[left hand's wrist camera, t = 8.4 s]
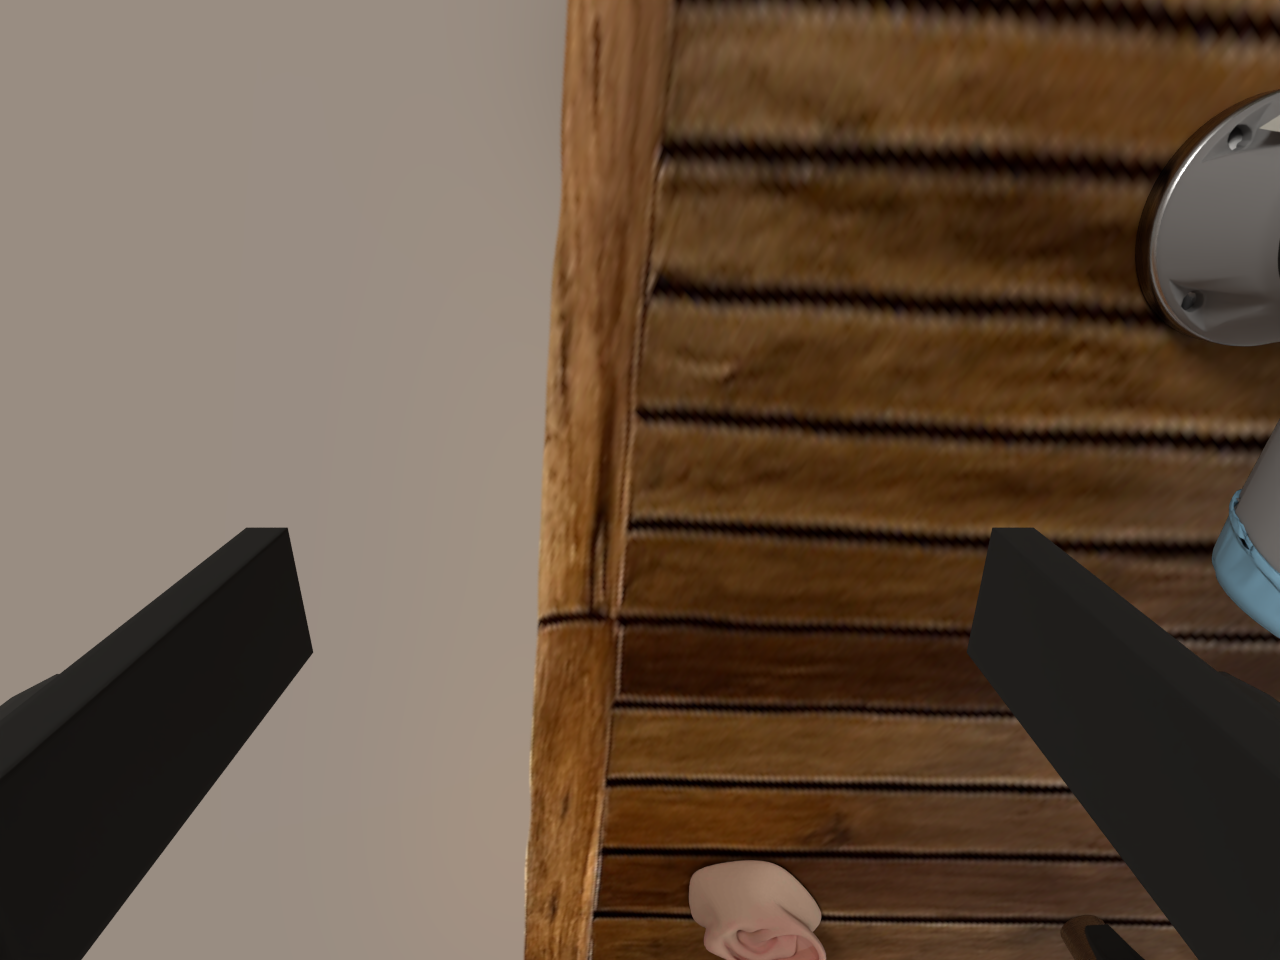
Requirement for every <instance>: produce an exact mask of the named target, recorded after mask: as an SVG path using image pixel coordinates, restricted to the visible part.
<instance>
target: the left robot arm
mask: <svg viewBox="0 0 1280 960" xmlns="http://www.w3.org/2000/svg"><path fill="white" fill-rule="evenodd" d="M1135 259H1136V270H1137V275H1138V280H1139V283H1140V286H1141V289H1142V292H1143V294H1144V296H1145V298H1146V300H1147V302H1148V304H1149V305H1150V307H1151V308H1152V310H1153V311H1154V312H1155V313H1156V315H1157V316H1158V317H1159V318H1160V319H1161V320H1162V321H1164V322H1165V323H1166V324H1167V325H1169V326H1170V327H1171V328H1173V329H1175V330H1177V331H1178V332H1180V333H1182V334H1185V335H1187V336H1190V337H1193V338H1197V339H1200V340H1205V341H1210V342H1214V343H1219V344H1225V345H1231V346H1256V345H1263V344H1268V343H1274V342H1280V89H1278V90H1273V91H1269V92H1265V93H1262V94H1258V95H1256V96H1253V97H1250V98H1248V99H1245V100H1243V101H1241V102H1239V103H1237V104H1235V105H1233V106H1231V107H1229V108H1228V109H1226V110H1224V111H1222V112H1221V113H1219V114H1218V115H1217V116H1215V117H1214V118H1212V119H1211V120H1209V121H1208V122H1207V123H1206V124H1204V125H1203V126H1202V127H1201V128H1199V129H1198V130H1197V131H1196V132H1195V133H1194V134H1193V135H1192V136H1191V137H1190V138H1189V139H1188V140H1187V141H1186V142H1185V143H1184V144H1183V145H1182V146H1181V147H1180V148H1179V149H1178V150H1177V152H1176V153H1175V154H1174V155H1173V157H1172V158H1171V159H1170V160H1169V162H1168V163H1167V165H1166V166H1165V168H1164V169H1163V171H1162V172H1161V174H1160V175H1159V177H1158V179H1157V180H1156V182H1155V184H1154V186H1153V188H1152V190H1151V192H1150V194H1149V196H1148V198H1147V201H1146V204H1145V206H1144V209H1143V212H1142V215H1141V219H1140V222H1139V227H1138V232H1137V239H1136V256H1135ZM1212 563H1213V566H1214V569H1215V571H1216V578H1217V580H1218V582H1219V584H1220V585H1221V587H1222V588H1223V589H1224V591H1225V592H1226V594H1227V595H1228V596H1229V597H1230V598H1231V599H1232V600H1233V601H1234V602H1235V603H1236V605H1237V606H1239V607H1240V608H1241V609H1242V610H1243V611H1244V612H1245V613H1246V614H1247V615H1249V616H1250V617H1251V618H1252V619H1253V620H1255V621H1256V622H1257V623H1259V624H1260V625H1261V626H1262V627H1264V628H1265V629H1267V630H1268V631H1269V632H1271V633H1272V634H1274V635H1275V636H1277V637H1278V638H1280V419H1279V421H1278V423H1277V425H1276V427H1275V429H1274V431H1273V432H1272V434H1271V436H1270V438H1269V440H1268V442H1267V444H1266V445H1265V447H1264V449H1263V451H1262V453H1261V455H1260V457H1259V458H1258V460H1257V462H1256V464H1255V466H1254V468H1253V470H1252V471H1251V473H1250V475H1249V477H1248V479H1247V481H1246V483H1245V485H1244V486H1243V488H1242V489H1241V490H1238V491H1236V493H1235V494H1234V496H1233V497H1232V499H1231V502H1230V505H1229V516H1228V518H1227V520H1226V523H1225V525H1224V527H1223V529H1222V531H1221V533H1220V535H1219V538H1218V540H1217V542H1216V544H1215V546H1214V549H1213V554H1212ZM312 653H313V649H312V644H311V639H310V634H309V630H308V625H307V620H306V615H305V610H304V605H303V600H302V596H301V591H300V586H299V581H298V576H297V571H296V566H295V561H294V557H293V552H292V547H291V542H290V537H289V532H288V528H245V529H244V530H243V531H242V532H240V533H239V534H238V535H237V536H235V537H234V538H233V539H231V540H230V541H229V542H228V543H226V544H225V545H224V546H222V547H221V548H220V549H219V550H217V551H216V552H215V553H214V554H212V555H211V556H210V557H209V558H207V559H206V560H205V561H203V562H202V563H201V564H200V565H198V566H197V567H196V568H194V569H193V570H192V571H191V572H189V573H188V574H187V575H185V576H184V577H183V578H182V579H180V580H179V581H178V582H177V583H175V584H174V585H173V586H171V587H170V588H169V589H168V590H166V591H165V592H164V593H162V594H161V595H160V596H159V597H157V598H156V599H155V600H154V601H152V602H151V603H150V604H149V605H147V606H146V607H145V608H143V609H142V610H141V611H140V612H138V613H137V614H136V615H134V616H133V617H132V618H131V619H129V620H128V621H127V622H125V623H124V624H123V625H122V626H120V627H119V628H118V629H117V630H115V631H114V632H113V633H111V634H110V635H109V636H108V637H106V638H105V639H104V640H103V641H101V642H100V643H99V644H97V645H96V646H95V647H94V648H92V649H91V650H90V651H88V652H87V653H86V654H85V655H83V656H82V657H81V658H80V659H78V660H77V661H76V662H74V663H73V664H72V665H71V666H69V667H68V668H67V669H66V670H64V671H63V672H62V673H60V674H56V675H54V676H52V677H50V678H48V679H46V680H44V681H42V682H41V683H39V684H37V685H35V686H33V687H31V688H29V689H27V690H25V691H23V692H21V693H19V694H18V695H16V696H14V697H12V698H10V699H9V700H8V701H6V702H5V703H4V704H2V705H1V706H0V960H81V959H82V958H83V957H84V955H85V954H86V953H87V952H88V950H89V949H90V948H91V946H92V945H93V943H94V942H95V941H96V940H97V938H98V937H99V936H100V934H101V933H102V932H103V930H104V929H105V928H106V926H107V925H108V924H109V922H110V921H111V920H112V918H113V917H114V916H115V914H116V913H117V912H118V910H119V909H120V908H121V906H122V905H123V904H124V902H125V901H126V900H127V898H128V897H129V896H130V894H131V893H132V892H133V891H134V889H135V888H136V887H137V885H138V884H139V882H140V881H141V880H142V879H143V877H144V876H145V875H146V873H147V872H148V871H149V869H150V868H151V867H152V865H153V864H154V863H155V861H156V860H157V859H158V857H159V856H160V855H161V853H162V852H163V851H164V849H165V848H166V847H167V845H168V844H169V843H170V841H171V840H172V839H173V838H174V836H175V835H176V834H177V832H178V831H179V830H180V828H181V827H182V826H183V824H184V823H185V822H186V820H187V819H188V818H189V816H190V815H191V814H192V812H193V811H194V810H195V808H196V807H197V806H198V804H199V803H200V802H201V800H202V799H203V798H204V796H205V795H206V794H207V792H208V791H209V790H210V788H211V787H212V786H213V785H214V783H215V782H216V781H217V779H218V778H219V777H220V775H221V774H222V773H223V771H224V770H225V769H226V767H227V766H228V765H229V763H230V762H231V761H232V759H233V758H234V757H235V755H236V754H237V753H238V751H239V750H240V749H241V747H242V746H243V745H244V743H245V742H246V741H247V739H248V738H249V737H250V735H251V734H252V733H253V731H254V730H255V729H256V727H257V726H258V725H259V723H260V722H261V721H262V720H263V718H264V717H265V716H266V714H267V713H268V712H269V710H270V709H271V708H272V706H273V705H274V704H275V702H276V701H277V700H278V698H279V697H280V696H281V694H282V693H283V692H284V690H285V689H286V688H287V686H288V685H289V684H290V682H291V681H292V680H293V678H294V677H295V676H296V674H297V673H298V672H299V671H300V669H301V668H302V667H303V665H304V664H305V663H306V661H307V660H308V658H309V657H310V656H311V655H312ZM967 653H968V655H969V656H970V657H971V659H972V660H973V661H974V663H975V664H976V665H977V667H978V668H979V669H980V671H981V672H982V673H983V675H984V676H985V677H986V678H987V680H988V681H989V682H990V684H991V685H992V686H993V688H994V689H995V690H996V692H997V693H998V694H999V696H1000V697H1001V698H1002V700H1003V701H1004V702H1005V704H1006V705H1007V706H1008V708H1009V709H1010V710H1011V712H1012V713H1013V714H1014V716H1015V717H1016V718H1017V720H1018V721H1019V722H1020V724H1021V725H1022V726H1023V728H1024V729H1025V730H1026V731H1027V733H1028V734H1029V735H1030V737H1031V738H1032V739H1033V741H1034V742H1035V743H1036V745H1037V746H1038V747H1039V749H1040V750H1041V751H1042V753H1043V754H1044V755H1045V757H1046V758H1047V759H1048V761H1049V762H1050V763H1051V765H1052V766H1053V767H1054V769H1055V770H1056V771H1057V773H1058V774H1059V775H1060V777H1061V778H1062V779H1063V781H1064V782H1065V783H1066V785H1067V786H1068V787H1069V788H1070V790H1071V791H1072V792H1073V794H1074V795H1075V796H1076V798H1077V799H1078V800H1079V802H1080V803H1081V804H1082V806H1083V807H1084V808H1085V810H1086V811H1087V812H1088V814H1089V815H1090V816H1091V818H1092V819H1093V820H1094V822H1095V823H1096V824H1097V826H1098V827H1099V828H1100V830H1101V831H1102V832H1103V834H1104V835H1105V836H1106V838H1107V839H1108V840H1109V842H1110V843H1111V844H1112V845H1113V847H1114V848H1115V849H1116V851H1117V852H1118V853H1119V855H1120V856H1121V857H1122V859H1123V860H1124V861H1125V863H1126V864H1127V865H1128V867H1129V868H1130V869H1131V871H1132V872H1133V873H1134V875H1135V876H1136V877H1137V879H1138V880H1139V881H1140V883H1141V884H1142V885H1143V887H1144V888H1145V889H1146V891H1147V892H1148V893H1149V895H1150V896H1151V897H1152V898H1153V900H1154V901H1155V902H1156V904H1157V905H1158V906H1159V908H1160V909H1161V910H1162V912H1163V913H1164V914H1165V916H1166V917H1167V918H1168V920H1169V921H1170V922H1171V924H1172V925H1173V926H1174V928H1175V929H1176V930H1177V932H1178V933H1179V934H1180V936H1181V937H1182V938H1183V940H1184V941H1185V942H1186V944H1187V945H1188V946H1189V948H1190V949H1191V950H1192V952H1193V953H1194V954H1195V955H1196V957H1197V958H1198V959H1199V960H1280V703H1279V702H1278V701H1277V700H1275V699H1274V698H1273V697H1271V696H1270V695H1268V694H1266V693H1264V692H1262V691H1260V690H1259V689H1257V688H1255V687H1253V686H1251V685H1249V684H1247V683H1245V682H1243V681H1241V680H1239V679H1237V678H1235V677H1233V676H1231V675H1230V674H1228V673H1226V672H1217V671H1216V670H1214V669H1213V668H1212V667H1211V666H1209V665H1208V664H1207V663H1206V662H1204V661H1203V660H1202V659H1200V658H1199V657H1198V656H1197V655H1195V654H1194V653H1193V652H1192V651H1190V650H1189V649H1188V648H1186V647H1185V646H1184V645H1183V644H1181V643H1180V642H1179V641H1177V640H1176V639H1175V638H1174V637H1172V636H1171V635H1170V634H1169V633H1167V632H1166V631H1165V630H1163V629H1162V628H1161V627H1160V626H1158V625H1157V624H1156V623H1155V622H1153V621H1152V620H1151V619H1149V618H1148V617H1147V616H1146V615H1144V614H1143V613H1142V612H1140V611H1139V610H1138V609H1137V608H1135V607H1134V606H1133V605H1132V604H1130V603H1129V602H1128V601H1126V600H1125V599H1124V598H1123V597H1121V596H1120V595H1119V594H1118V593H1116V592H1115V591H1114V590H1112V589H1111V588H1110V587H1109V586H1107V585H1106V584H1105V583H1103V582H1102V581H1101V580H1100V579H1098V578H1097V577H1096V576H1095V575H1093V574H1092V573H1091V572H1089V571H1088V570H1087V569H1086V568H1084V567H1083V566H1082V565H1081V564H1079V563H1078V562H1077V561H1075V560H1074V559H1073V558H1072V557H1070V556H1069V555H1068V554H1066V553H1065V552H1064V551H1063V550H1061V549H1060V548H1059V547H1058V546H1056V545H1055V544H1054V543H1052V542H1051V541H1050V540H1049V539H1047V538H1046V537H1045V536H1044V535H1042V534H1041V533H1040V532H1038V531H1037V530H1036V529H1035V528H992V532H991V537H990V542H989V547H988V552H987V557H986V561H985V566H984V571H983V576H982V581H981V586H980V591H979V596H978V600H977V605H976V610H975V615H974V620H973V625H972V630H971V634H970V639H969V644H968V649H967Z"/></svg>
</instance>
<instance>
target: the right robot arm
mask: <svg viewBox="0 0 1280 960" xmlns="http://www.w3.org/2000/svg"><path fill="white" fill-rule="evenodd" d="M1085 935H1086V938H1087V940H1088V943H1089V945H1090V947H1091V949H1092V951H1093V953H1094V955H1095V957H1096V959H1097V960H1145V959H1143V958H1142V957H1141V956H1140V955H1139V954H1138V953H1137V952H1136V951H1135V950H1133V949H1132V948H1131V947H1130V946H1129V945H1128V944H1127V943H1126V942H1125V941H1124V940H1123V939H1122V938H1121V937H1120V936H1119V935H1118V934H1117V933H1116V932H1115V931H1114V930H1113V929H1112V928H1111V927H1110V926H1109V925H1108V924H1104V925H1087V926H1085Z"/></svg>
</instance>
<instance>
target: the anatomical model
mask: <svg viewBox="0 0 1280 960" xmlns="http://www.w3.org/2000/svg"><path fill="white" fill-rule="evenodd" d="M689 904H690V909H691V914H692V916H693V918H694V920H695V921H696V922H697V923H698V924H700V925H701V926H703V927H705V928H706V932H705V936H704V944H705V947H706V949H707V950H708V951H710V952H711V953H713V954H715V955H718V956H720V957H722V958H724V959H726V960H826V953H825V950H824V947H823V946H822V944H821V942H820V941H819V939H818V938H817V937H816V935H815V934H814V933H813V931H814V930H815V929H816V928H817V926H818V925H819V923H820V921H821V912H820V909H819V907H818V905H817V904H816V902H815V900H814V899H813V898H812V896H811V895H810V894H809V893H808V891H807V890H806V889H805V888H804V887H803V886H802V885H801V884H800V883H799V881H798V880H796V879H795V878H794V877H793V876H792V875H791V874H790V873H789V872H787V871H786V870H785V869H783V868H782V867H780V866H778V865H776V864H773V863H770V862H766V861H758V860H743V861H733V862H726V863H720V864H715V865H711V866H707V867H704V868H702V869H699V870H698V871H696V872H695V873H694V874H693V876H692V877H691V880H690V886H689Z"/></svg>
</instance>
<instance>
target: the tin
mask: <svg viewBox="0 0 1280 960" xmlns="http://www.w3.org/2000/svg"><path fill="white" fill-rule="evenodd" d="M1087 925H1104V922H1103V921H1102V920H1101V919H1100V918H1098V917H1096V916H1093V915H1082V916H1078V917H1075V918H1072V919H1071V920H1069V921H1068V922H1066V923H1065V924H1064V926H1063V927H1062V929H1061V937H1062V939H1063V941H1064V942H1065V944H1066V946H1067V948H1068V949H1069V951H1070V953H1071V954H1072V956H1073V958H1074V959H1075V960H1097V959H1096V957H1095V955H1094V953H1093V951H1092V949H1091V947H1090V945H1089V943H1088V940H1087V938H1086V935H1085V926H1087Z"/></svg>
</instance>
